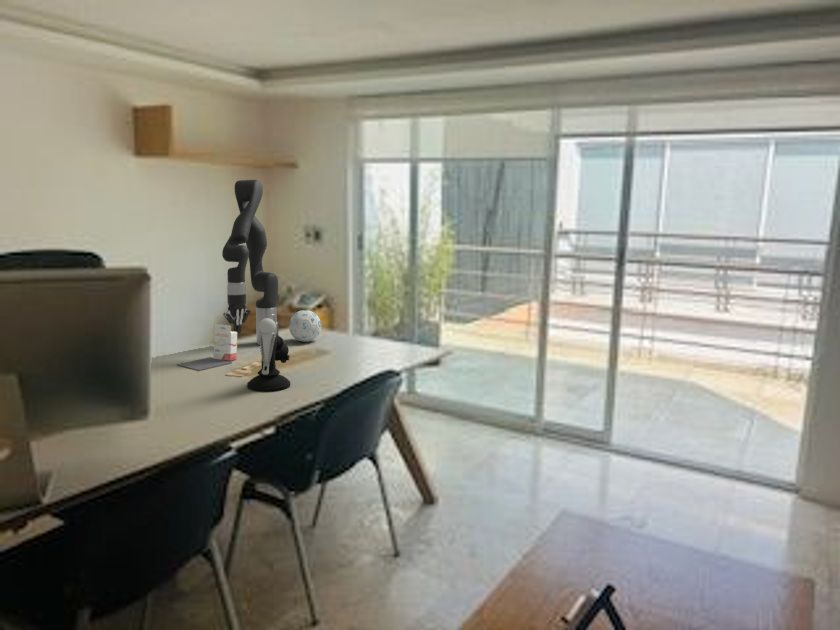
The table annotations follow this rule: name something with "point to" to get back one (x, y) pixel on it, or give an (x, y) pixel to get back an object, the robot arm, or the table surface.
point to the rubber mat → (204, 363)
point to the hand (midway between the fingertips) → (237, 333)
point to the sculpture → (270, 360)
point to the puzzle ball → (305, 326)
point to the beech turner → (244, 370)
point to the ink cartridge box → (224, 343)
